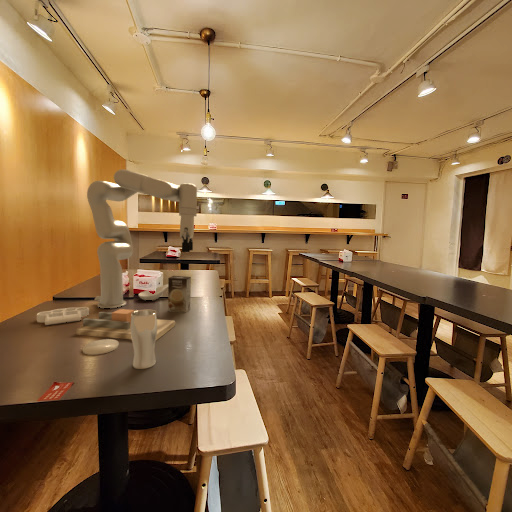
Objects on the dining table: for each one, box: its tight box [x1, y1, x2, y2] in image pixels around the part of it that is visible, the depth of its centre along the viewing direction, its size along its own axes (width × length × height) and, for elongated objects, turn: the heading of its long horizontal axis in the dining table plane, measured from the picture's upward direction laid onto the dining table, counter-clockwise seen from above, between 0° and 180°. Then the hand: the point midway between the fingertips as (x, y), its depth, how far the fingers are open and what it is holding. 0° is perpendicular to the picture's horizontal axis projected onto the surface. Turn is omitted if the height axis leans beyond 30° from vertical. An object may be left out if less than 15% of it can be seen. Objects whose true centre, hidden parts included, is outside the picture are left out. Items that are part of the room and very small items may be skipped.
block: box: [111, 308, 136, 325], centre depth 102 cm, size 6×5×5 cm
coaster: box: [82, 338, 120, 356], centre depth 87 cm, size 10×10×1 cm
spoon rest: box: [138, 283, 168, 301], centre depth 151 cm, size 24×12×7 cm, turn 132°
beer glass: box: [130, 308, 158, 370], centre depth 76 cm, size 7×7×15 cm
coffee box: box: [167, 275, 192, 313], centre depth 128 cm, size 9×6×16 cm
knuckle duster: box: [36, 306, 90, 326], centre depth 113 cm, size 3×18×15 cm
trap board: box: [75, 311, 176, 341], centre depth 102 cm, size 30×16×4 cm, turn 82°
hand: (187, 251), depth 121 cm, fingers open, 9 cm apart
